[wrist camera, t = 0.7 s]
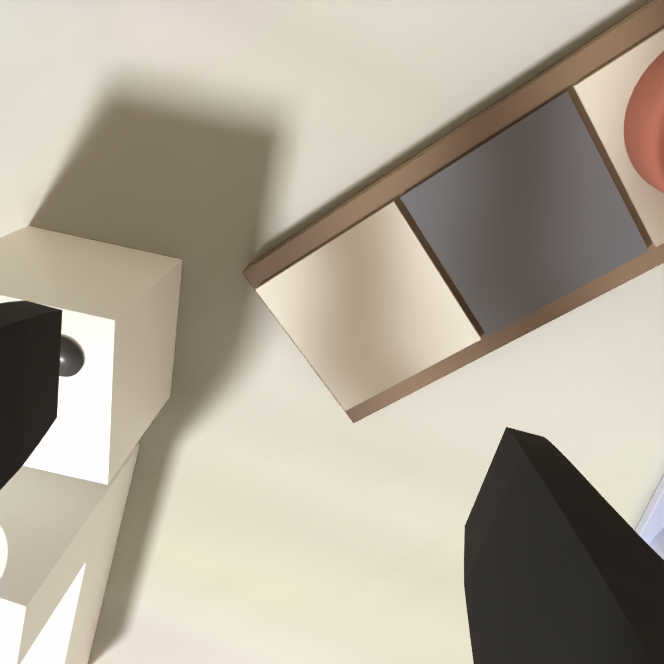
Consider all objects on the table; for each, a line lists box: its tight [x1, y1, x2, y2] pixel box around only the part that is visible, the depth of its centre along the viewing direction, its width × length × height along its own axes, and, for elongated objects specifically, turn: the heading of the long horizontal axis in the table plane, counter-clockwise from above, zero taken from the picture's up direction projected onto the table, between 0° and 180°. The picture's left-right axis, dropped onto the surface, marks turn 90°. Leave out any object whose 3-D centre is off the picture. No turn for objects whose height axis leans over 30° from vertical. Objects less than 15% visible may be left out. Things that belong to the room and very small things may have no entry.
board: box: [242, 0, 664, 423], centre depth 17 cm, size 15×6×1 cm, turn 124°
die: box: [0, 226, 183, 485], centre depth 18 cm, size 5×5×5 cm
